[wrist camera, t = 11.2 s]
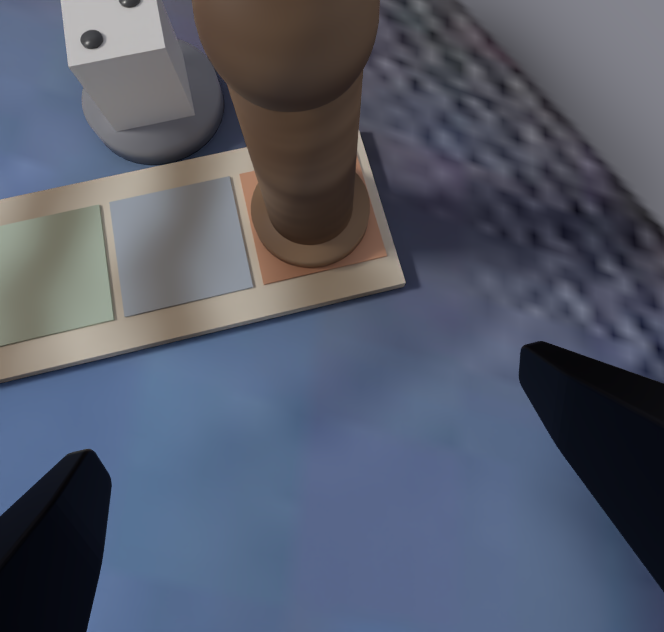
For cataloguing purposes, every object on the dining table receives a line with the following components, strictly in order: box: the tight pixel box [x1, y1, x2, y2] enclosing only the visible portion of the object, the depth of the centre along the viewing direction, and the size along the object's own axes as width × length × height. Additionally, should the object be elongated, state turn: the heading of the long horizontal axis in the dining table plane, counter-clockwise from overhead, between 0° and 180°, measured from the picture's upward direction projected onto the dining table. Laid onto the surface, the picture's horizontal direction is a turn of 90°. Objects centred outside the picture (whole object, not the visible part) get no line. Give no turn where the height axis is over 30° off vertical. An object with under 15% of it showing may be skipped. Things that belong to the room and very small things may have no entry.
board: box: [0, 131, 406, 383], centre depth 21 cm, size 20×9×1 cm, turn 104°
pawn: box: [192, 0, 380, 268], centre depth 15 cm, size 6×6×13 cm
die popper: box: [61, 0, 224, 165], centre depth 21 cm, size 7×7×5 cm
